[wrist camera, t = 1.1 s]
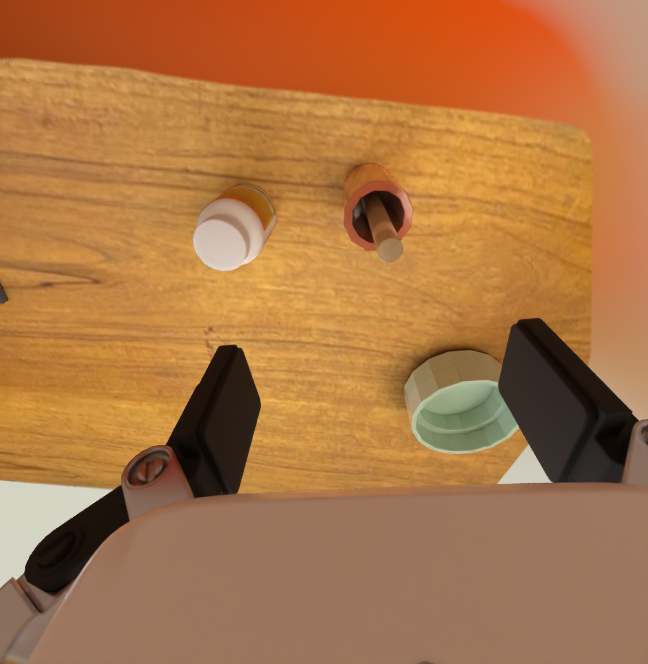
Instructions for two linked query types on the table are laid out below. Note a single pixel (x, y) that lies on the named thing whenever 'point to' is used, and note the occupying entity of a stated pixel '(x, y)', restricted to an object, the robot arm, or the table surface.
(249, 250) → the supplement bottle
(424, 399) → the bowl
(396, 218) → the utensil pot
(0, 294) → the jigsaw machine
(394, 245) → the stick
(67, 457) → the table surface
